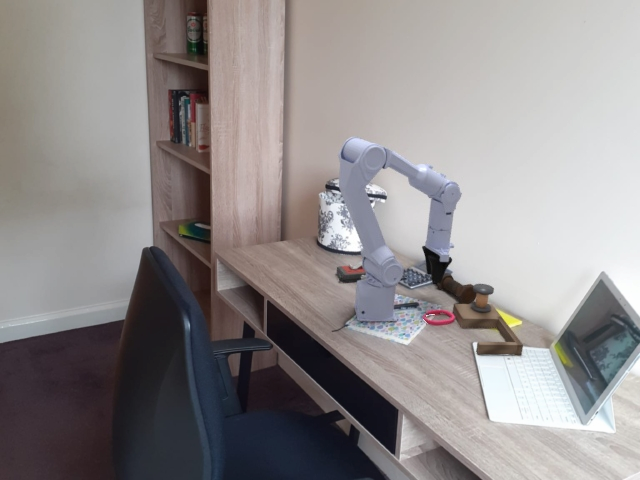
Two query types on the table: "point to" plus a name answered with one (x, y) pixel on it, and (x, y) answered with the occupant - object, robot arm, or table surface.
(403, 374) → the table surface
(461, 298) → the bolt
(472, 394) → the table surface
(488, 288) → the spool
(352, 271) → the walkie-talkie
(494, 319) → the notched board
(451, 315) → the fitness band
